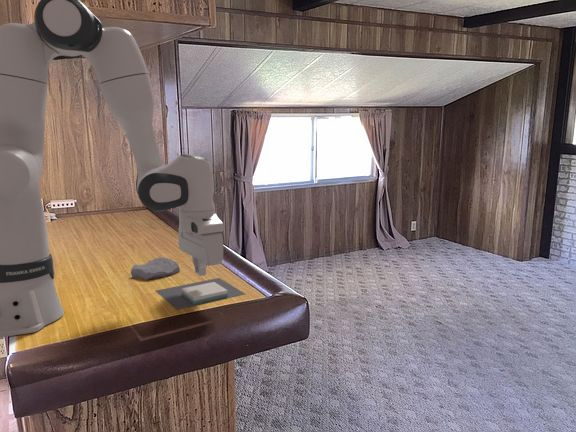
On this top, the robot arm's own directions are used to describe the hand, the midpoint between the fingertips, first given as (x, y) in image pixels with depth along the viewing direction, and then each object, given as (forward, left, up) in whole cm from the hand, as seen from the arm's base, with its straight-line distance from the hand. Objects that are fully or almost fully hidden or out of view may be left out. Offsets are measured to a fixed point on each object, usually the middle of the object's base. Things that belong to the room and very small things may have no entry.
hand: (200, 274), depth 119 cm
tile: (0, +2, -4) cm, 5 cm away
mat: (0, +1, -6) cm, 6 cm away
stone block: (-4, +24, -6) cm, 25 cm away
